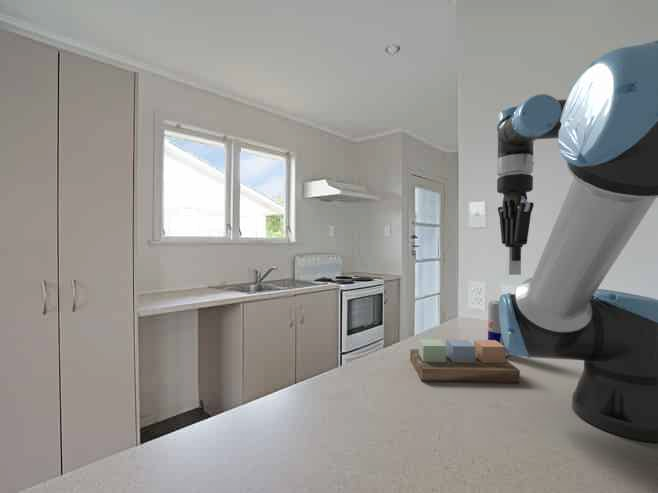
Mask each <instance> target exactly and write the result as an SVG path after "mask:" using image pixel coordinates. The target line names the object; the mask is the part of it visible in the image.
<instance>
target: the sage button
mask: <svg viewBox="0 0 658 493" xmlns="http://www.w3.org/2000/svg"><path fill="white" fill-rule="evenodd" d="M418 349H419V356H420V358H421V359H422V361H423V362H446V343H444V342H443V340H441V339H439V338H438V339H434V338H432V339H428V338H422V339H421V338H419V339H418Z"/></svg>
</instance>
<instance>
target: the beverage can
mask: <svg viewBox="0 0 658 493" xmlns="http://www.w3.org/2000/svg"><path fill="white" fill-rule="evenodd" d="M487 304H488V305H487V306H488V307H487V313H488V314H487V315H488V316H487V340H496V341H497V342H499V343H500V344H502V345H503V346H505V345H504V342H503V338H502V333H501V327H500V320H499V300H489V301H488V303H487ZM510 355H511V353H509V352H508V351H507V349H506V347H505V357H509V356H510Z"/></svg>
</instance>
